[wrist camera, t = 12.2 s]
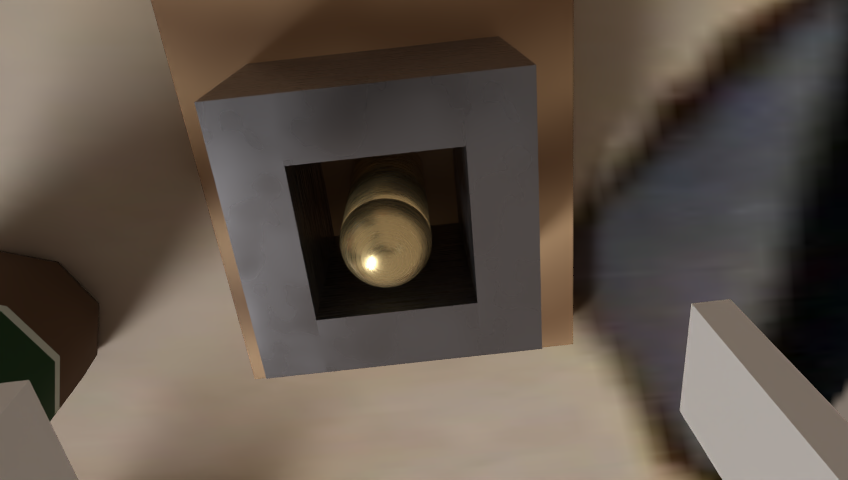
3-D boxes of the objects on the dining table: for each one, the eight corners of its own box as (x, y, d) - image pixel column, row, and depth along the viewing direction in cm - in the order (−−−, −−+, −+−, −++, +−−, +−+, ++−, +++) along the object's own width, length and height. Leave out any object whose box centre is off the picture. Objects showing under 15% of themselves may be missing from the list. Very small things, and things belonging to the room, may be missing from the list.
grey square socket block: (247, 63, 24) (193, 102, 18) (499, 36, 24) (536, 64, 18) (295, 283, 28) (266, 378, 22) (509, 260, 28) (542, 348, 22)
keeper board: (152, -64, 24) (132, -66, 22) (560, -111, 24) (573, -116, 22) (262, 355, 32) (255, 379, 30) (562, 321, 32) (572, 343, 30)
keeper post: (348, 142, 26) (327, 222, 18) (419, 134, 26) (429, 211, 18) (358, 208, 27) (344, 309, 19) (426, 200, 27) (438, 299, 19)
